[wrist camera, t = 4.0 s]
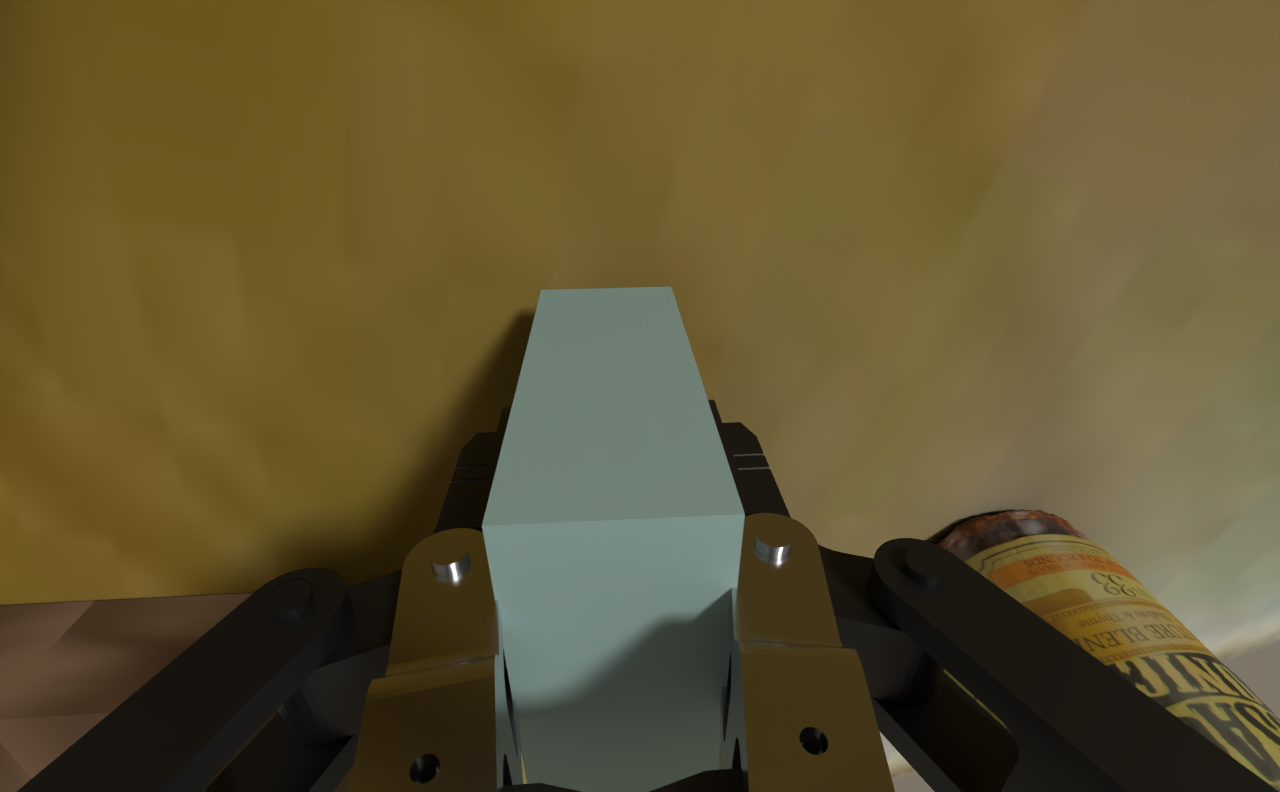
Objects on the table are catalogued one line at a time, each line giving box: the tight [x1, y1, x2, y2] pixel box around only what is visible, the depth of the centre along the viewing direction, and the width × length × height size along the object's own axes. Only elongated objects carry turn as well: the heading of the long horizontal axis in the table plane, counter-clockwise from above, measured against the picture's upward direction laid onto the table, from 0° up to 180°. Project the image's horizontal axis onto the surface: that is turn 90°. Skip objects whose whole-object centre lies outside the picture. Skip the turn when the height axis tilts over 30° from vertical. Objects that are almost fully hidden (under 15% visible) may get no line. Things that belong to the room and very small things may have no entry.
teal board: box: [482, 287, 745, 792], centre depth 13 cm, size 12×3×8 cm, turn 0°
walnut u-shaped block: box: [0, 593, 354, 792], centre depth 16 cm, size 16×3×8 cm, turn 90°
